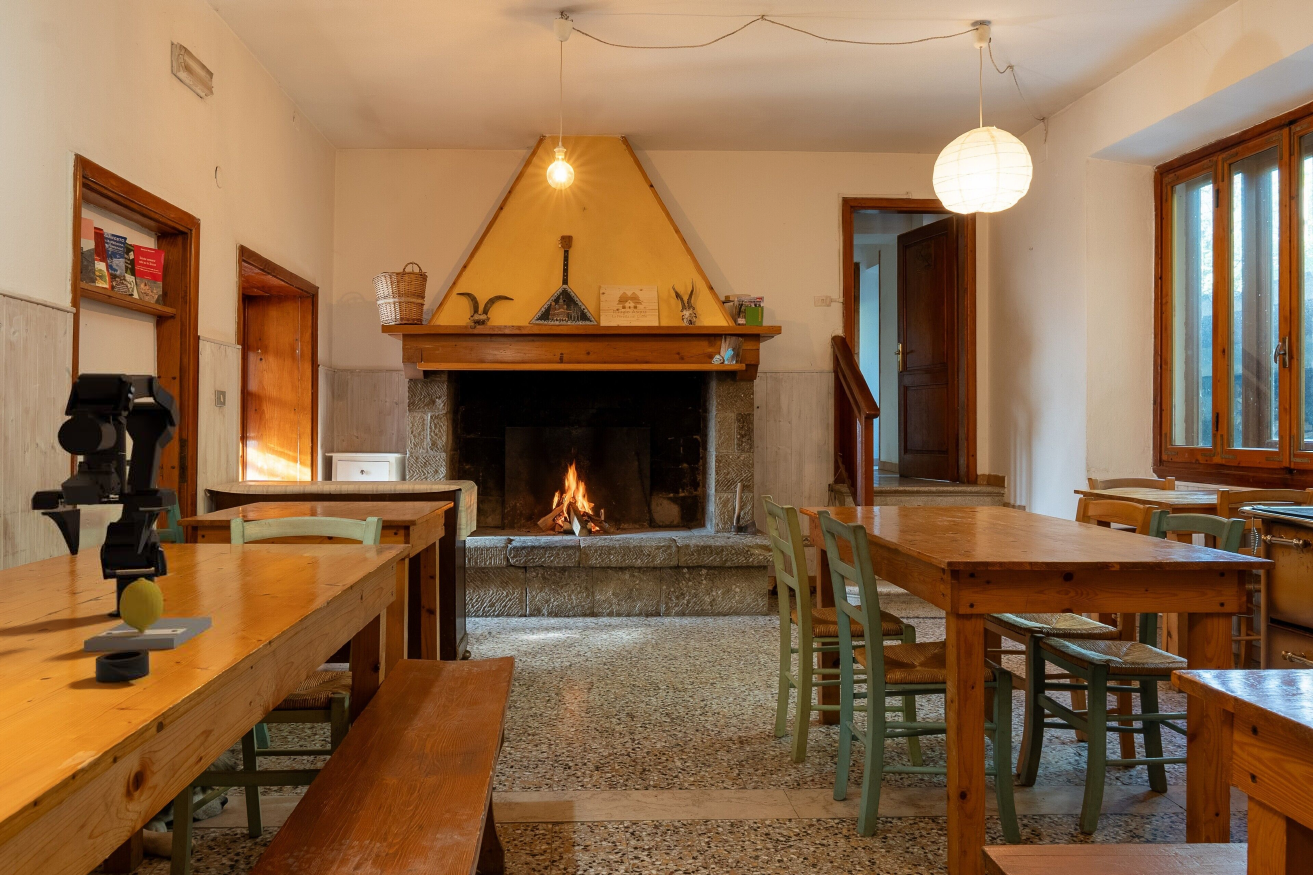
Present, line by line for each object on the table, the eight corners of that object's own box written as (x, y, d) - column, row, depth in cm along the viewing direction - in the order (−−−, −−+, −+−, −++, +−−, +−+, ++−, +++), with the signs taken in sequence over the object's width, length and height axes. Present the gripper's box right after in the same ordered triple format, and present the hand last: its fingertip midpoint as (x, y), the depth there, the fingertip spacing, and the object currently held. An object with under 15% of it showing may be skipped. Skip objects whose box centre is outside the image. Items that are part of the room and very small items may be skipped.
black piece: (169, 666, 116) (168, 644, 116) (142, 687, 107) (141, 663, 107) (105, 669, 115) (104, 648, 115) (71, 692, 105) (71, 668, 105)
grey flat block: (131, 628, 137) (130, 618, 137) (211, 626, 138) (211, 615, 138) (84, 651, 123) (83, 639, 123) (174, 648, 125) (173, 636, 125)
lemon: (149, 636, 125) (148, 580, 125) (111, 636, 125) (110, 581, 125) (171, 627, 131) (170, 574, 130) (135, 627, 131) (134, 574, 131)
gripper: (7, 456, 126) (9, 563, 126) (144, 454, 128) (146, 560, 129) (51, 454, 137) (52, 552, 137) (176, 452, 139) (178, 550, 140)
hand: (106, 554), depth 135 cm, fingers open, 9 cm apart
